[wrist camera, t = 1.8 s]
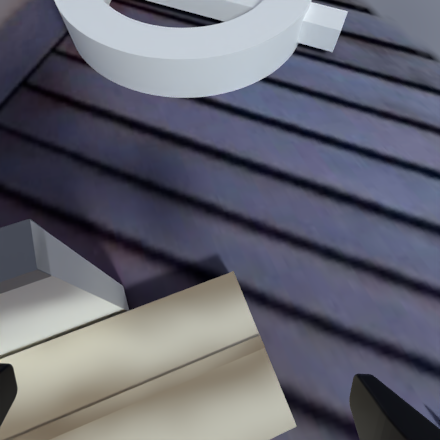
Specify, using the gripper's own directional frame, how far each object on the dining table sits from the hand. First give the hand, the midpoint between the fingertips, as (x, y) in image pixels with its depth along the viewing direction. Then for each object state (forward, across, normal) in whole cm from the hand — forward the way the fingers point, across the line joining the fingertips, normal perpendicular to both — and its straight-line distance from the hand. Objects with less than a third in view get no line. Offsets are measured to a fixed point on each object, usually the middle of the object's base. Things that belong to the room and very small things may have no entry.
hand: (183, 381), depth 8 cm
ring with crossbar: (+36, +4, -19) cm, 41 cm away
